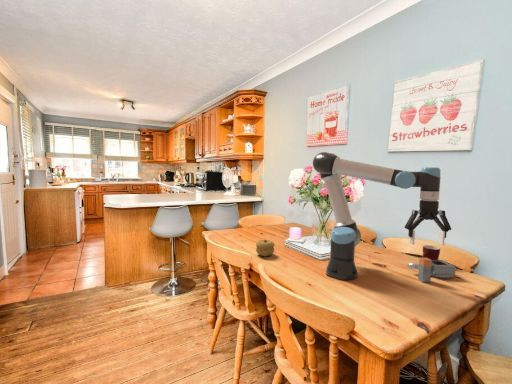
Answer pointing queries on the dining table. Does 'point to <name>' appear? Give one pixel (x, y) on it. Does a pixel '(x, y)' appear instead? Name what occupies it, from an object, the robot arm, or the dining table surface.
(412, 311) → the dining table surface
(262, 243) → the brown round lump
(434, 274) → the grey machine vise
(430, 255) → the mug
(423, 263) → the grey orange upright block
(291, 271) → the dining table surface
